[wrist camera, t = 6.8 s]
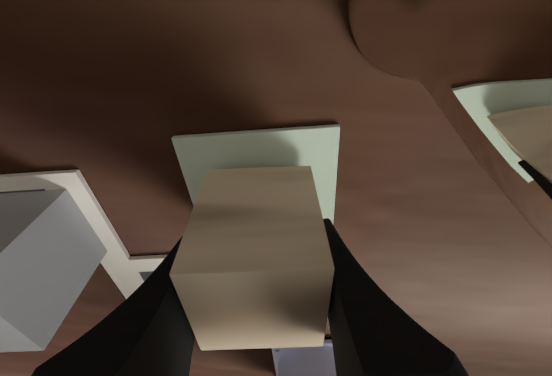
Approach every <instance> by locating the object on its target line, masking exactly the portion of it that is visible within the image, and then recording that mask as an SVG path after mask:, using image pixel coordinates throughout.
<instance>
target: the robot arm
mask: <svg viewBox="0 0 552 376" xmlns="http://www.w3.org/2000/svg"><path fill="white" fill-rule="evenodd" d="M323 221H324V226H325V230H326V234H327V238H328V243H329V247H330V251H331V256H332V260H333V264H334V268H335V269H334V276H333V283H332V289H331V296H330V303H329V309H328V320H329V325H330V332H331V339H325V340H324V343H323V346H320V347H290V348H271V349H272V354H273V360H274V365H275V371H276V376H469V375H468V373H467V372H466V370H465V369H464V367H463V365H462V364H461V362H460V361H459V359H458V358H457V356H456V354H455V353H454V352H453V351H452V350H450V349H449V348H448V347H446V346H445V345H444V344H443V343H441V342H440V341H439V340H437V339H436V338H435V337H433V336H432V335H431V334H430V333H428V332H427V331H426V330H425V329H424V328H422V327H421V326H420V325H419V324H418V323H416V322H415V321H414V320H413V319H412V318H411V317H410V316H408V315H407V314H406V313H405V312H404V311H403V310H402V309H401V308H400V307H399V306H398V305H396V304H395V303H394V302H393V301H392V300H391V299H390V298H389V297H388V296H387V295H386V294H385V293H384V292H383V291H382V290H381V289H380V288H379V287H378V285H377V284H376V283H375V282H374V281H373V280H372V279H371V278H370V277H369V275H368V274H367V273H366V272H365V271H364V269H363V268H362V267H361V266H360V264H359V263H358V262H357V261H356V259H355V258H354V257H353V255H352V254H351V252H350V251H349V250H348V248H347V247H346V245H345V244H344V242H343V241H342V239H341V238H340V236H339V234H338V233H337V231H336V229H335V228H334V226H333V224H332V222H331V220H330V219H329V218H326V219H323ZM182 237H183V236H182ZM182 237H181V238H180V240H179V241H178V242H177V244H176V245H175V246H174V247H173V249H172V250H171V251H170V252H169V254H168V255H167V256H166V257H165V259H164V260H163V261H162V262H161V263H160V265H159V266H158V267H157V268H156V269H155V270H154V271H153V272H152V273H151V275H150V276H149V277H148V278H147V279H146V280H145V281H144V282H143V283H142V284H141V285H140V286H139V287H138V288H137V289H136V290H135V291H134V292H133V293H132V294H131V295H130V296H129V297H128V298H127V299H126V300H125V301H124V302H123V303H122V304H121V305H119V306H118V307H117V308H116V309H115V310H114V311H112V312H111V313H110V314H109V315H108V316H107V317H106V318H104V319H103V320H102V321H101V322H100V323H98V324H97V325H96V326H94V327H93V328H92V329H91V330H89V331H88V332H87V333H85V334H84V335H83V336H81V337H80V338H79V339H77V340H76V341H75V342H73V343H72V344H71V345H69V346H68V347H66V348H65V349H63V350H62V351H61V352H59V353H58V354H56V355H55V356H53V357H52V358H50V359H49V360H47V361H46V362H44V363H43V364H41V365H40V366H38V367H37V368H36V369H35V371H34V372H33V374H32V375H31V376H189V370H190V363H191V356H192V350H193V344H194V338H195V335H194V332H193V330H192V328H191V325H190V323H189V320H188V318H187V316H186V313H185V311H184V308H183V306H182V304H181V301H180V299H179V297H178V294H177V292H176V289H175V287H174V285H173V282H172V280H171V277H170V275H169V274H170V271H171V268H172V265H173V263H174V260H175V257H176V254H177V251H178V249H179V246H180V243H181V240H182Z"/></svg>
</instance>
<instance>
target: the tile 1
mask: <svg viewBox="0 0 552 376" xmlns="http://www.w3.org/2000/svg"><path fill="white" fill-rule="evenodd" d="M63 189H67V190H68V192H69V193H70V195H71V197H72V198H73V200H74V201H75V203H76V204H77V206H78V207H79V209H80V210H81V212H82V213H83V215H84V216H85V218H86V219H87V221H88V222H89V224H90V225H91V227H92V228H93V230H94V231H95V233H96V234H97V236H98V238H99V239H100V241H101V242H102V244H103V245H104V247H105V248H106V250H107V253H106V254H105V256H104V257H103V259H102V260H101V261H120V260H129V259H130V257H131V256H130V255H129V253H128V251H127V250H126V248H125V246H124V245H123V243H122V241H121V239H120V238H119V236H118V234H117V233H116V231H115V229H114V228H113V226H112V224H111V223H110V221H109V219H108V218H107V216H106V214H105V213H104V211H103V209H102V207H101V206H100V204H99V202H98V201H97V199H96V197H95V196H94V194H93V192H92V191H91V189H90V187H89V186H88V184H87V182H86V180H85V179H84V177H83V175H82V174H81V172H80V170H79V169H75V170H60V171H45V172H30V173H15V174H0V194H1V193H16V192H32V191H48V190H63Z"/></svg>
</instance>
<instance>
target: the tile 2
mask: <svg viewBox="0 0 552 376" xmlns="http://www.w3.org/2000/svg"><path fill="white" fill-rule="evenodd" d="M166 256H167V255H149V256H131V257H130V259H129V260H120V261H101V262H100V263H101V264H102V266H103V267H104V268H105V270H106V271H107V273H108V274H109V276H110V277H111V278H112V280H113V281H114V283H115V284H116V285H117V287H118V288H119V290H120V291H121V292H122V294H123V295H124V297H125V298H126V299H127V298H128V297H129V296H130V295H131V294H132V293H133V292H134V291H135V290H136V289H137V288H138V287H139V286H140V285H141V284H142V283H143V282H144V281H145V280H146V279H147V278H148V277H149V276H150V275H151V273H152V272H153V271H154V270H155V269H156V268H157V267H158V266H159V265H160V263H161V262H162V261H163V260H164V259H165V257H166Z"/></svg>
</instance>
